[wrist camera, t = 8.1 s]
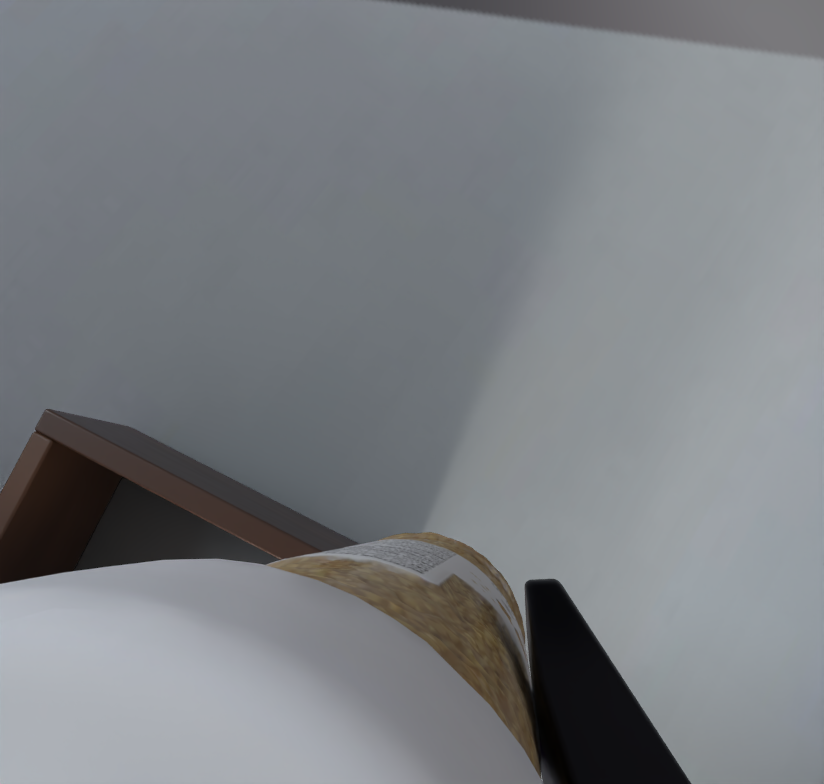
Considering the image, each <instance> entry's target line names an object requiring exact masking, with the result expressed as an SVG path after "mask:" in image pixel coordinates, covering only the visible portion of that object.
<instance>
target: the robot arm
mask: <svg viewBox="0 0 824 784" xmlns="http://www.w3.org/2000/svg"><path fill="white" fill-rule="evenodd" d="M525 606H526V626H527V639H528V650H529V661H530V672H531V683H532V693H533V697H534V702H535V710H536V716H537V722H538V728H539V737H540V748H541V773H542V779H543V784H691V782H690V781H689V779H688V778H687V776H686V775H685V773H684V772H683V770H682V769H681V767H680V766H679V764H678V763H677V761H676V759H675V758H674V756H673V755H672V753H671V752H670V750H669V749H668V747H667V746H666V744H665V743H664V741H663V739H662V738H661V736H660V735H659V733H658V732H657V730H656V729H655V727H654V726H653V724H652V723H651V721H650V719H649V718H648V716H647V715H646V713H645V712H644V710H643V709H642V707H641V706H640V704H639V703H638V701H637V699H636V698H635V696H634V695H633V693H632V692H631V690H630V689H629V687H628V686H627V684H626V683H625V681H624V679H623V678H622V676H621V675H620V673H619V672H618V670H617V669H616V667H615V666H614V664H613V663H612V661H611V660H610V658H609V656H608V655H607V653H606V652H605V650H604V649H603V647H602V646H601V644H600V643H599V641H598V640H597V638H596V636H595V635H594V633H593V632H592V630H591V629H590V627H589V626H588V624H587V623H586V621H585V620H584V618H583V616H582V615H581V613H580V612H579V610H578V609H577V607H576V606H575V604H574V603H573V601H572V600H571V598H570V596H569V595H568V593H567V592H566V590H565V589H564V587H563V586H562V584H561V583H560V582H559V581H558V580H556V579H538V580H529V581H527V582H526V584H525Z"/></svg>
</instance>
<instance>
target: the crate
mask: <svg viewBox="0 0 824 784" xmlns="http://www.w3.org/2000/svg"><path fill="white" fill-rule="evenodd" d="M35 430H36V431H37V432H33V434H32V435H31V437H30V439H29V441H28V443H27V445H26V447H25V449H24V450H23V452H22V454H21V456H20V458H19V460H18V462H17V463H16V465H15V467H14V469H13V471H12V473H11V475H10V476H9V478H8V480H7V482H6V484H5V486H4V488H3V490H2V491H1V493H0V584H3V583H9V582H14V581H20V580H25V579H31V578H36V577H42V576H47V575H53V574H58V573H64V572H72V571H73V570H74V568H75V566H76V564H77V562H78V561H79V559H80V557H81V555H82V553H83V551H84V549H85V547H86V545H87V543H88V541H89V539H90V537H91V535H92V534H93V532H94V530H95V528H96V526H97V524H98V522H99V520H100V518H101V516H102V514H103V512H104V510H105V508H106V507H107V505H108V503H109V501H110V499H111V497H112V495H113V493H114V491H115V489H116V487H117V485H118V483H119V482H120V480H121V478H122V477H124V478H126V479H128V480H130V481H132V482H134V483H136V484H137V485H139V486H141V487H143V488H145V489H147V490H149V491H151V492H153V493H154V494H156V495H158V496H160V497H162V498H164V499H166V500H168V501H170V502H172V503H173V504H175V505H177V506H179V507H181V508H183V509H185V510H187V511H189V512H191V513H192V514H194V515H196V516H198V517H200V518H202V519H204V520H206V521H208V522H209V523H211V524H213V525H215V526H217V527H219V528H221V529H223V530H225V531H227V532H228V533H230V534H232V535H234V536H236V537H238V538H240V539H242V540H244V541H246V542H247V543H249V544H251V545H253V546H255V547H257V548H259V549H261V550H263V551H264V552H266V553H268V554H270V555H272V556H274V557H276V558H278V559H280V560H283V559H288V558H293V557H298V556H303V555H308V554H313V553H319V552H325V551H331V550H335V549H340V548H345V547H349V546H354V545H359V544H358V543H356V542H354V541H352V540H350V539H348V538H346V537H344V536H342V535H340V534H338V533H337V532H335V531H333V530H331V529H329V528H327V527H325V526H323V525H321V524H319V523H317V522H315V521H313V520H311V519H309V518H307V517H305V516H303V515H301V514H299V513H297V512H295V511H293V510H291V509H290V508H288V507H286V506H284V505H282V504H280V503H278V502H276V501H274V500H272V499H270V498H268V497H266V496H264V495H262V494H260V493H258V492H256V491H254V490H252V489H250V488H248V487H246V486H244V485H243V484H241V483H239V482H237V481H235V480H233V479H231V478H229V477H227V476H225V475H223V474H221V473H219V472H217V471H215V470H213V469H211V468H209V467H207V466H205V465H203V464H201V463H199V462H197V461H196V460H194V459H192V458H190V457H188V456H186V455H184V454H182V453H180V452H178V451H176V450H174V449H172V448H170V447H168V446H166V445H164V444H162V443H160V442H158V441H156V440H154V439H152V438H150V437H149V436H147V435H145V434H143V433H141V432H139V431H137V430H135V429H133V428H131V427H129V426H124V425H120V424H115V423H110V422H106V421H101V420H97V419H92V418H87V417H83V416H78V415H74V414H69V413H64V412H60V411H55V410H51V409H46V410H45V411H44V413H43V415H42V417H41V418H40V420H39V422H38V424H37V426H36V428H35Z"/></svg>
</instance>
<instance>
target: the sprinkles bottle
mask: <svg viewBox="0 0 824 784" xmlns="http://www.w3.org/2000/svg"><path fill="white" fill-rule="evenodd" d="M0 784H543V782H542V780H541V748H540V737H539V728H538V722H537V716H536V710H535V702H534V697H533V693H532V683H531V676H530V672H529V666H528V659H527V654H526V649H525V632H524V627H523V621H522V617H521V614H520V611H519V607H518V604H517V602H516V600H515V597H514V595H513V592H512V590H511V588H510V586H509V585H508V583H507V581H506V580H505V578H504V577H503V576H502V574H501V573H500V572H499V571H498V570H497V569H496V568H495V567H494V566H493V565H492V564H491V563H490V562H489V561H488V560H487V559H486V558H485V557H484V556H483V555H481V554H479V553H478V552H476V551H475V550H474V549H473V548H471V547H469V546H467V545H466V544H464V543H462V542H460V541H456V540H453V539H451V538H447V537H444V536H442V535H439V534H436V533H432V532H427V533H403V534H397V535H393V536H389V537H386V538H383V539H380V540H378V541H374V542H369V543H364V544H359V545H354V546H349V547H345V548H340V549H335V550H331V551H325V552H319V553H313V554H308V555H303V556H298V557H293V558H288V559H283V560H279V561H275V562H272V563H269V564H266V565H263V564H258V563H250V562H241V561H233V560H225V559H178V560H159V561H151V562H143V563H134V564H126V565H118V566H110V567H102V568H94V569H87V570H79V571H72V572H64V573H58V574H53V575H47V576H42V577H36V578H31V579H25V580H20V581H14V582H9V583H3V584H0Z"/></svg>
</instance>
